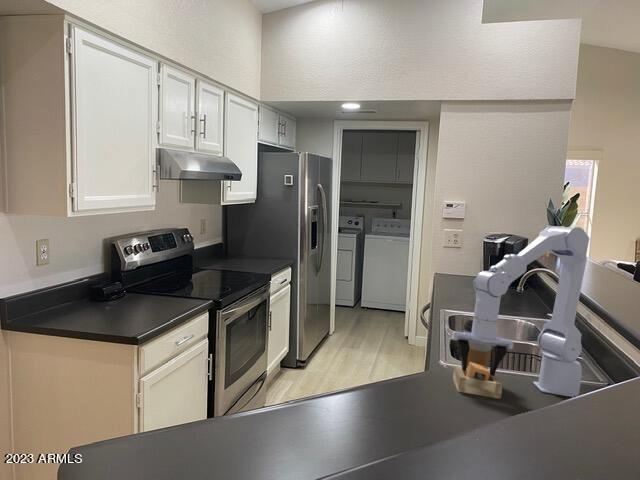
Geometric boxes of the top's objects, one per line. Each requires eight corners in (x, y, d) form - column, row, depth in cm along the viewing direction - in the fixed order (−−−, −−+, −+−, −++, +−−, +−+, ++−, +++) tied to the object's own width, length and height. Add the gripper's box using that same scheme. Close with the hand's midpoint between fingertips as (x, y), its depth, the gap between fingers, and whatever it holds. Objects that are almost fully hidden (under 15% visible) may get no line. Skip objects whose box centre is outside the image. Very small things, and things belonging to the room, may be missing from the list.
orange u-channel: (480, 384, 122) (485, 366, 121) (484, 391, 117) (490, 371, 116) (464, 380, 122) (469, 361, 122) (467, 386, 117) (473, 367, 117)
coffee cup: (453, 370, 134) (460, 318, 133) (482, 374, 134) (489, 322, 133) (461, 380, 125) (469, 324, 125) (493, 384, 125) (500, 328, 125)
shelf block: (491, 386, 124) (494, 368, 124) (500, 398, 114) (503, 379, 114) (452, 379, 125) (455, 361, 125) (458, 391, 115) (460, 372, 115)
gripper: (458, 317, 116) (450, 371, 116) (519, 326, 114) (511, 382, 114) (454, 312, 123) (447, 364, 123) (512, 321, 121) (504, 373, 121)
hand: (477, 372), depth 119 cm, fingers open, 6 cm apart
